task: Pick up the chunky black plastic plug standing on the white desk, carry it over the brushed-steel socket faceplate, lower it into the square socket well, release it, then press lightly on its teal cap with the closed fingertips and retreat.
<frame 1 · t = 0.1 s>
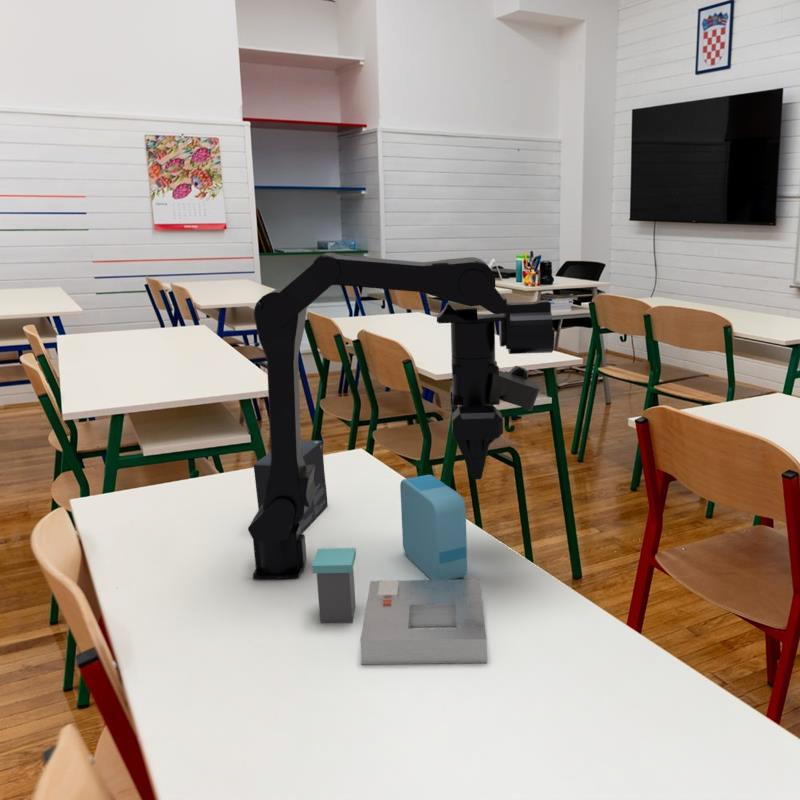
hand: (475, 467, 106), 15 cm above the table, fingers open, 9 cm apart
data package: (434, 567, 110), on the table
faceplate: (425, 630, 93), on the table
small box: (295, 521, 129), on the table
plug: (338, 614, 98), on the table
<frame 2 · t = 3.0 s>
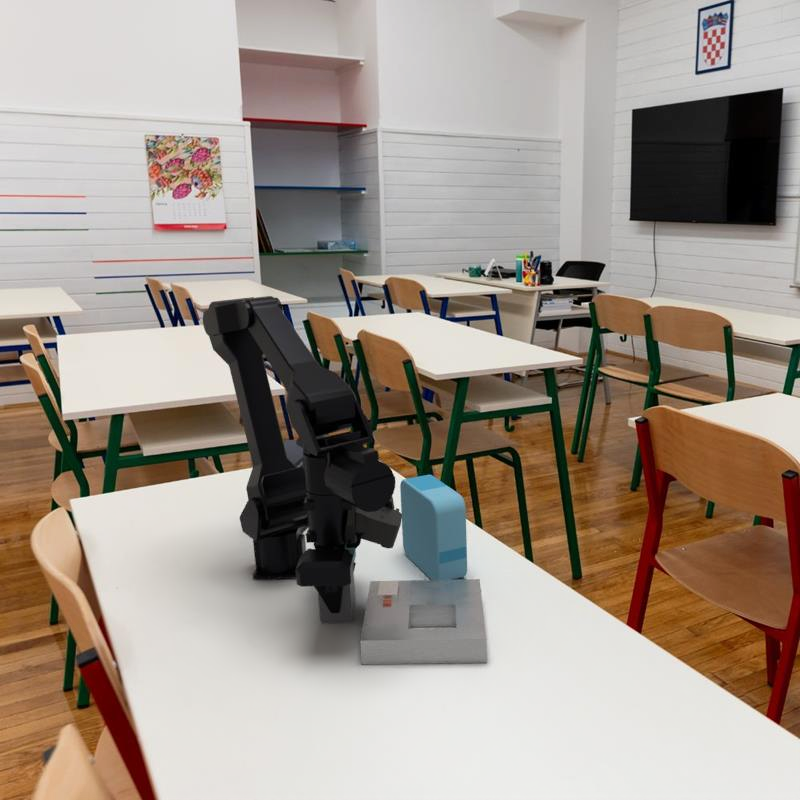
hand: (337, 603, 97), 2 cm above the table, fingers closed on plug, 4 cm apart
plug: (338, 614, 98), on the table, touching gripper
everything else where it was.
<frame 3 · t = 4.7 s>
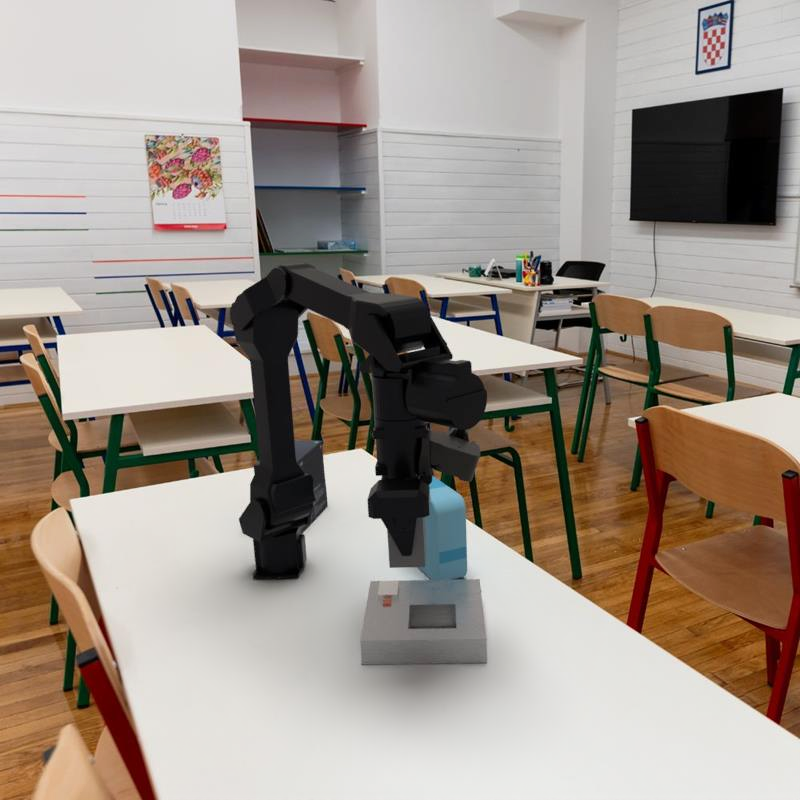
hand: (408, 547, 88), 12 cm above the table, fingers closed on plug, 4 cm apart
plug: (408, 559, 88), point 11 cm above the table, touching gripper
everything else where it was.
when the fingers open (3 cm above the table, at t = 6.4 s): plug drops 2 cm, resting in faceplate.
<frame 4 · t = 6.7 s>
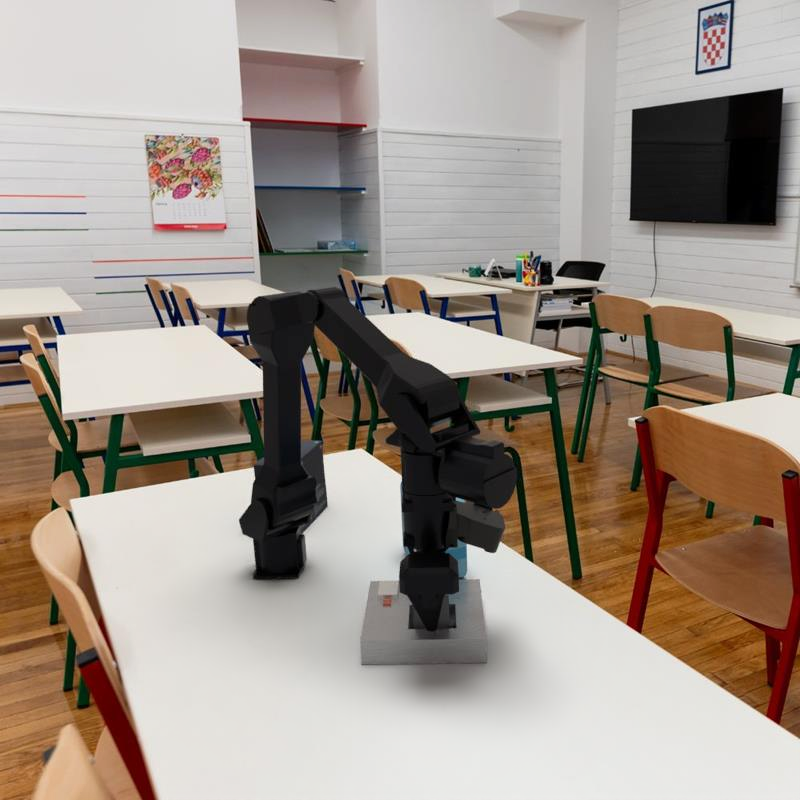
hand: (431, 612, 91), 3 cm above the table, fingers open, 8 cm apart
plug: (433, 639, 91), resting in faceplate
everything else where it was.
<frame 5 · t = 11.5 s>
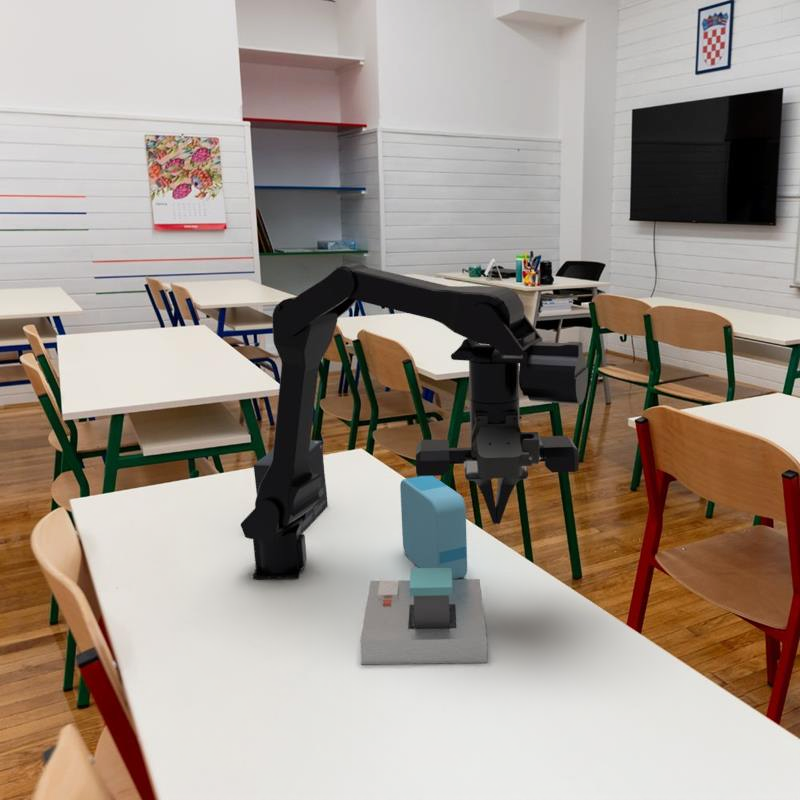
hand: (496, 522, 94), 12 cm above the table, fingers closed
nothing on the table moved.
at the end: plug 0.0 cm from the target spot on the faceplate, point 0.0 cm above the faceplate's base; plug tilted 0°; the gripper is holding nothing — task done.
